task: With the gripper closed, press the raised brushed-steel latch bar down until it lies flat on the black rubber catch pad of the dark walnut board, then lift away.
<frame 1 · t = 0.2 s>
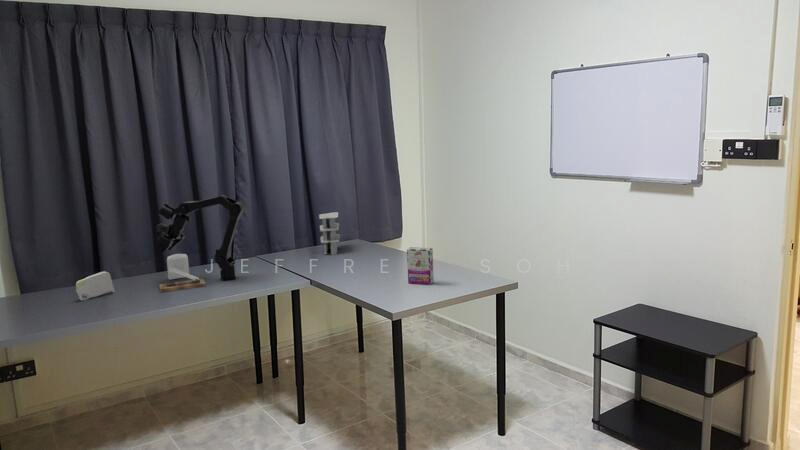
hand: (164, 251, 290), 15 cm above the table, tool tilted 30°, fingers open, 9 cm apart
candy bar box: (421, 283, 270), on the table
photo printer: (179, 278, 297), on the table
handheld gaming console: (96, 297, 268), on the table
walnut board: (182, 286, 279), on the table
file organizer: (331, 251, 348), on the table
latch bar: (184, 274, 278), point 6 cm above the table, hinge at 30.0°
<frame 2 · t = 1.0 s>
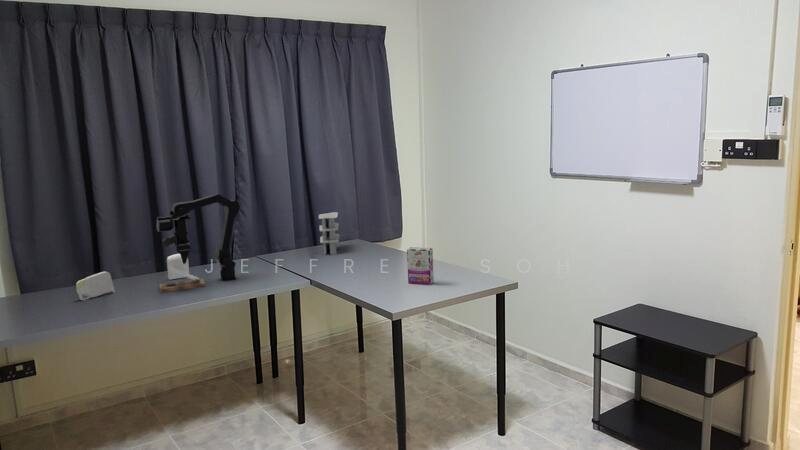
hand: (183, 261, 278), 12 cm above the table, tool pointing down, fingers open, 9 cm apart
nothing on the table moved.
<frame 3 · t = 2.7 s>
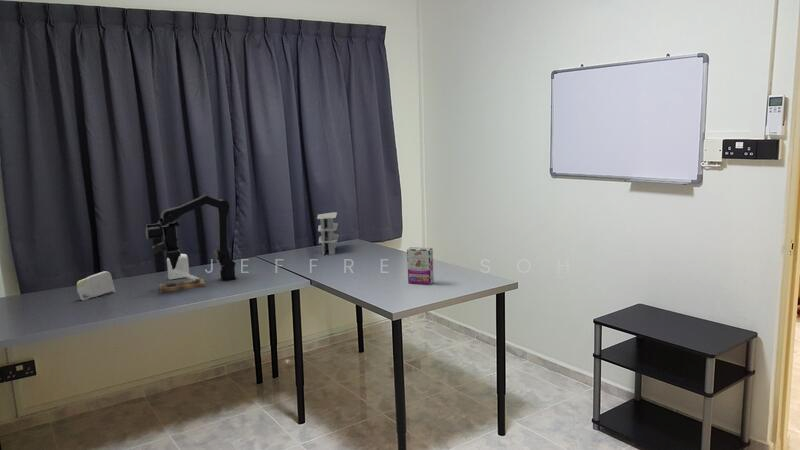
hand: (173, 268, 276), 9 cm above the table, tool pointing down, fingers closed, pressing on latch bar
latch bar: (184, 274, 278), point 6 cm above the table, hinge at 29.9°, touching gripper
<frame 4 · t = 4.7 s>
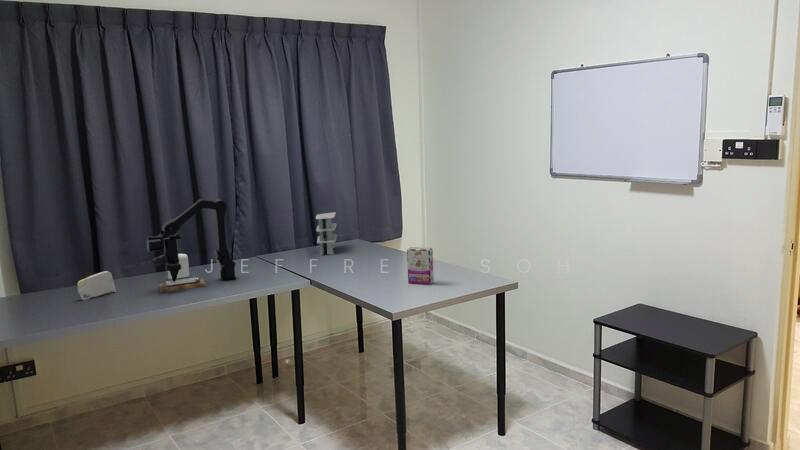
hand: (174, 281, 277), 3 cm above the table, tool pointing down, fingers closed
latch bar: (182, 281, 279), point 3 cm above the table, hinge at 0.1°
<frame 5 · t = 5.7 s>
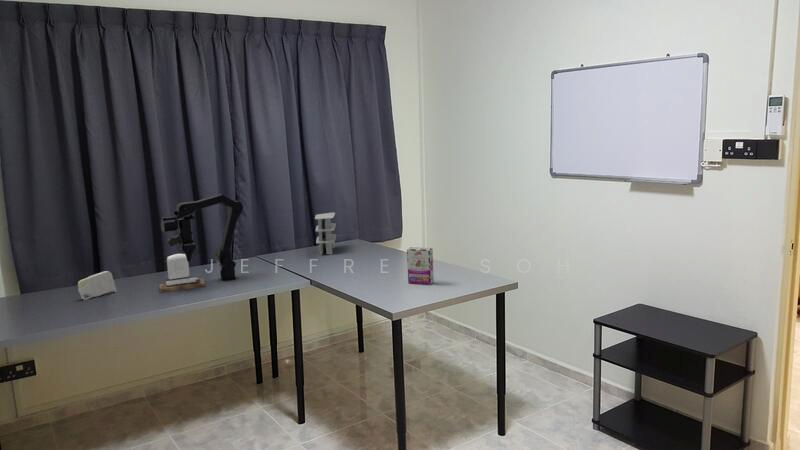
hand: (188, 261, 278), 12 cm above the table, tool pointing down, fingers closed
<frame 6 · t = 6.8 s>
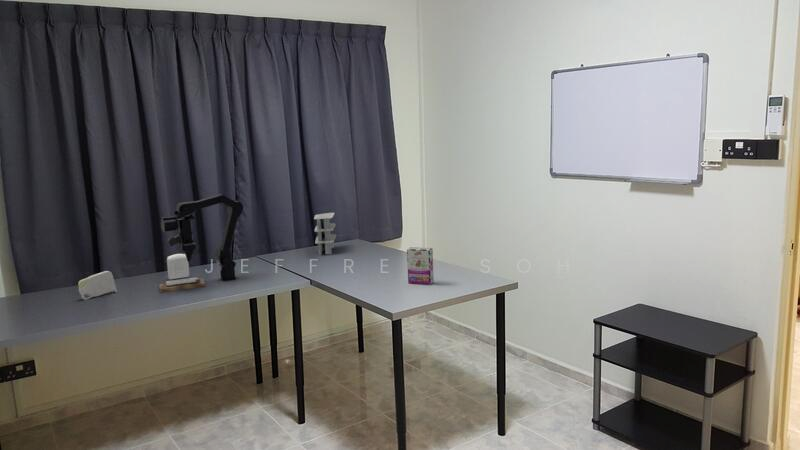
hand: (188, 261, 278), 12 cm above the table, tool pointing down, fingers closed
at the end: latch bar at +0° (first picture: +30°); photo printer moved 0.3 cm from its start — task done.
